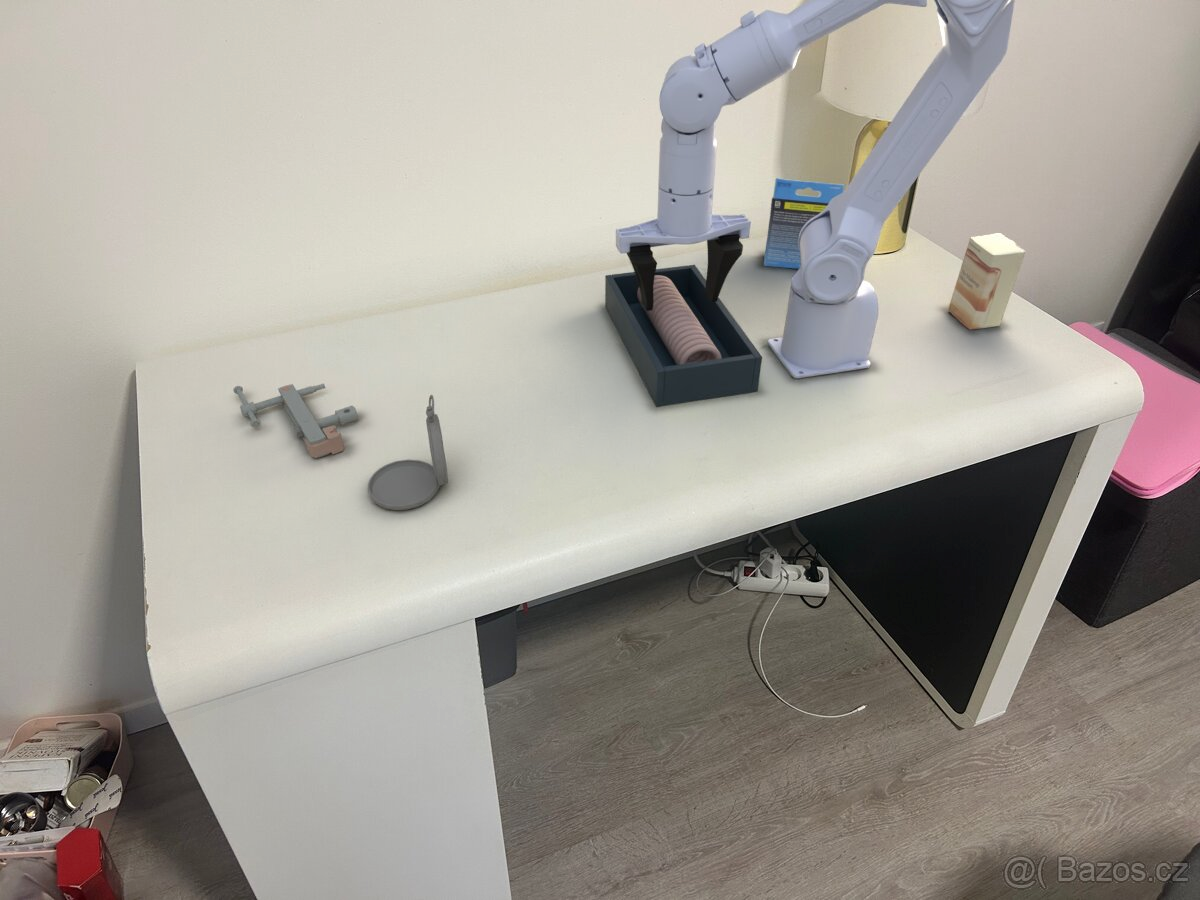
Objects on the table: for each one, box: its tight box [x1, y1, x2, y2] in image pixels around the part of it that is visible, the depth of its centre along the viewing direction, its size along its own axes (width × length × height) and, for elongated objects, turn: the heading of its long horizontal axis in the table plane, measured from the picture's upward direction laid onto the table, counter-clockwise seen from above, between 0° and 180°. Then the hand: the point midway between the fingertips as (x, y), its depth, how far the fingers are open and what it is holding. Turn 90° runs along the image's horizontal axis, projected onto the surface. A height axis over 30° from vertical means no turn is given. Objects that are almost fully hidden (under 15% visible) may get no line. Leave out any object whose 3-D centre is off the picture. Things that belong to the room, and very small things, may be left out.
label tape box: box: [763, 177, 845, 270], centre depth 112 cm, size 9×4×12 cm, turn 77°
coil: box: [637, 275, 722, 365], centre depth 98 cm, size 5×5×18 cm
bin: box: [604, 264, 763, 408], centre depth 98 cm, size 12×22×4 cm, turn 14°
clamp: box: [232, 383, 359, 459], centre depth 88 cm, size 15×2×10 cm
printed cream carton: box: [947, 232, 1027, 331], centre depth 101 cm, size 5×4×10 cm
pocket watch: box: [367, 394, 449, 511], centre depth 77 cm, size 8×8×10 cm
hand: (679, 301), depth 96 cm, fingers open, 7 cm apart
